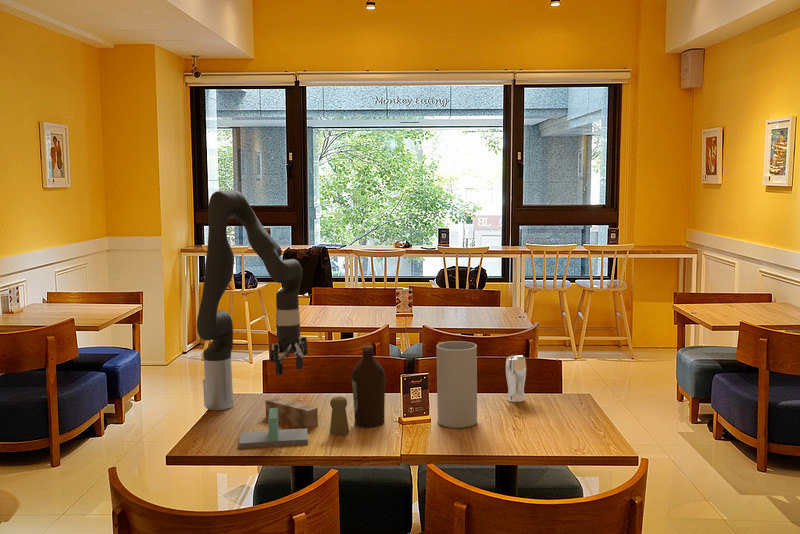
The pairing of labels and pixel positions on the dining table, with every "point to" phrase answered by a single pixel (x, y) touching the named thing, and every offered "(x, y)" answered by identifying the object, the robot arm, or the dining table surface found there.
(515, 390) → the beer glass
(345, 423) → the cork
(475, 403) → the cylinder vase
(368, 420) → the olive oil
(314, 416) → the walnut bar
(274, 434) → the balance stand
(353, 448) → the dining table surface
